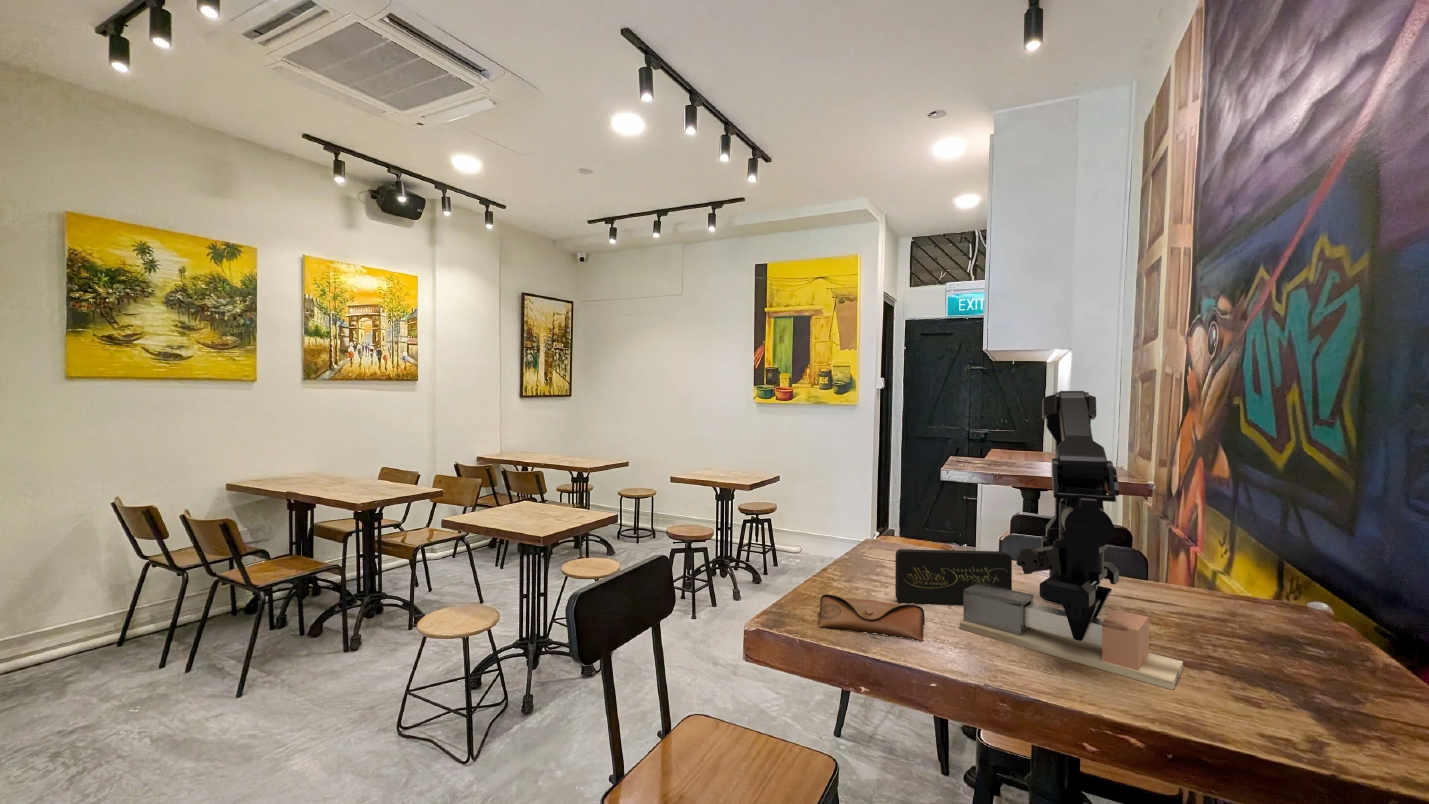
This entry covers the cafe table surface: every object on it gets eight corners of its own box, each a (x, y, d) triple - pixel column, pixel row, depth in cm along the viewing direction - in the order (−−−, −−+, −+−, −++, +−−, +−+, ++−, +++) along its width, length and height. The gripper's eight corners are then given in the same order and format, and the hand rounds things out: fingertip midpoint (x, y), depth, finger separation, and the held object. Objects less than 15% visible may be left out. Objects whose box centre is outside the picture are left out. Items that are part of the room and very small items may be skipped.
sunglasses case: (813, 627, 94) (816, 587, 98) (817, 635, 100) (820, 597, 103) (927, 642, 89) (926, 599, 92) (925, 650, 95) (924, 608, 98)
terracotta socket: (1114, 645, 86) (1114, 609, 86) (1148, 654, 83) (1148, 617, 83) (1102, 660, 81) (1102, 621, 81) (1138, 670, 78) (1138, 630, 78)
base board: (981, 615, 101) (981, 609, 101) (1183, 668, 81) (1182, 661, 81) (959, 628, 95) (959, 622, 95) (1172, 689, 74) (1172, 682, 74)
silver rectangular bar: (1004, 614, 95) (1004, 596, 95) (1127, 645, 83) (1127, 624, 83) (997, 618, 93) (997, 600, 93) (1122, 651, 81) (1122, 630, 81)
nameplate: (1007, 604, 107) (1007, 551, 107) (1011, 607, 105) (1011, 554, 105) (895, 600, 109) (895, 549, 109) (897, 604, 107) (898, 551, 107)
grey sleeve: (977, 611, 100) (977, 582, 100) (1033, 626, 93) (1033, 594, 93) (963, 620, 96) (963, 589, 96) (1020, 636, 89) (1020, 603, 89)
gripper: (1042, 518, 98) (1042, 608, 98) (1002, 534, 85) (1002, 637, 85) (1119, 528, 90) (1119, 626, 90) (1087, 548, 77) (1088, 662, 77)
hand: (1081, 636), depth 86 cm, fingers closed on silver rectangular bar, 3 cm apart
